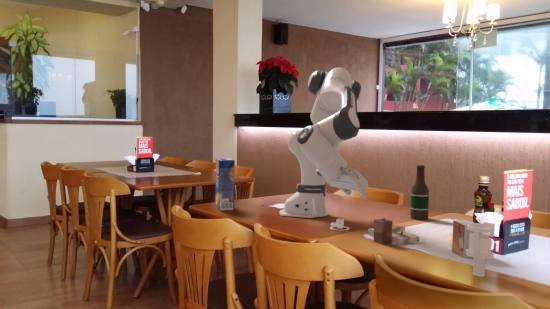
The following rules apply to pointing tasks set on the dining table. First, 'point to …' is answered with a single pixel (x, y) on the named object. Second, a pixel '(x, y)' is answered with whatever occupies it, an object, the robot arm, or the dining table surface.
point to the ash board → (400, 237)
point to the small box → (461, 237)
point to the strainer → (480, 246)
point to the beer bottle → (419, 196)
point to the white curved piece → (339, 224)
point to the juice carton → (225, 184)
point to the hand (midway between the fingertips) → (357, 194)
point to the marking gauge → (385, 231)
